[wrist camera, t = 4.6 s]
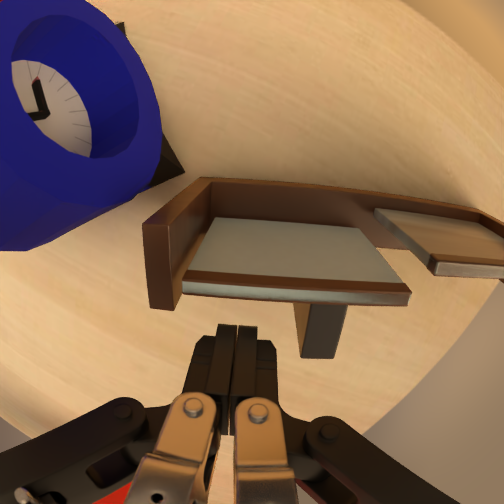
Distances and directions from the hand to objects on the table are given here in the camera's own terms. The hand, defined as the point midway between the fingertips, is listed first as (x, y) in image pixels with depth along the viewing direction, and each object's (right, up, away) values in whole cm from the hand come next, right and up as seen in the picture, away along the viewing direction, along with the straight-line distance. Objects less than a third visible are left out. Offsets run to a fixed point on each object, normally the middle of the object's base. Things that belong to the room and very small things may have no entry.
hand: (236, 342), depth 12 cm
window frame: (+8, +5, +8) cm, 12 cm away
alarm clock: (-11, +12, +6) cm, 18 cm away
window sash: (+3, +3, +7) cm, 8 cm away
